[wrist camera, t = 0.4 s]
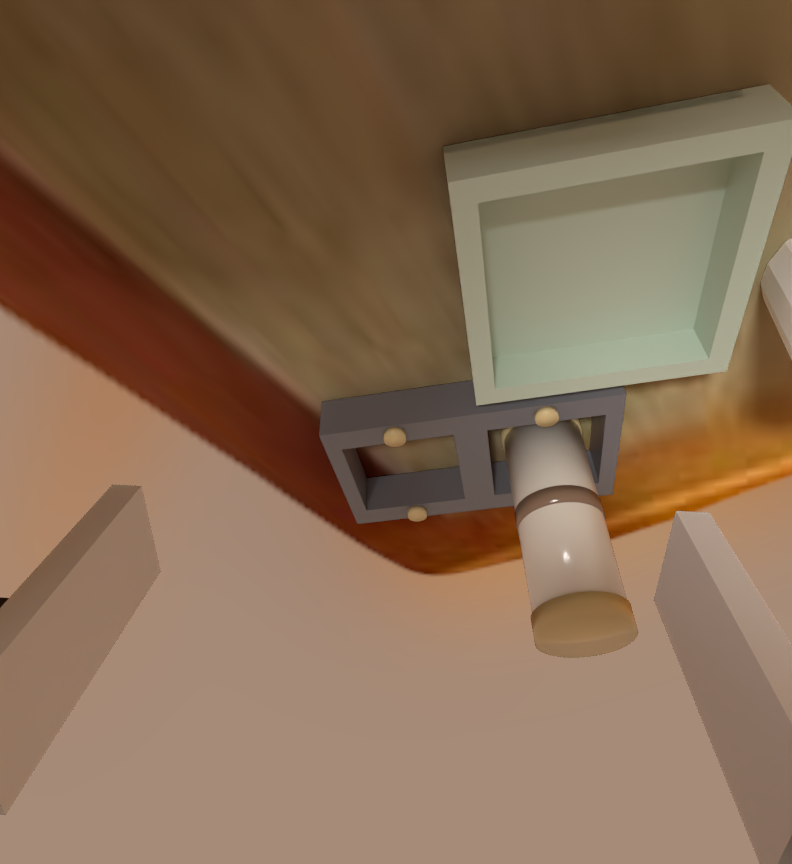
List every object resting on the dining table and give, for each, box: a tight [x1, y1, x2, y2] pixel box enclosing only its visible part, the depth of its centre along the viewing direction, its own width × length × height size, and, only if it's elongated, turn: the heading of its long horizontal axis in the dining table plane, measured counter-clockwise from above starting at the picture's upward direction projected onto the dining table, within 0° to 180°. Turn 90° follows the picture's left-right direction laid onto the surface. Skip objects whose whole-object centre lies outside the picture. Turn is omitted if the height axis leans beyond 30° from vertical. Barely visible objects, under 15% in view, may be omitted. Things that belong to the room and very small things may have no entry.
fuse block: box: [319, 380, 626, 524], centre depth 36 cm, size 9×16×3 cm, turn 101°
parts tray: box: [443, 84, 792, 406], centre depth 27 cm, size 12×12×3 cm
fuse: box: [500, 418, 638, 658], centre depth 33 cm, size 5×5×13 cm
